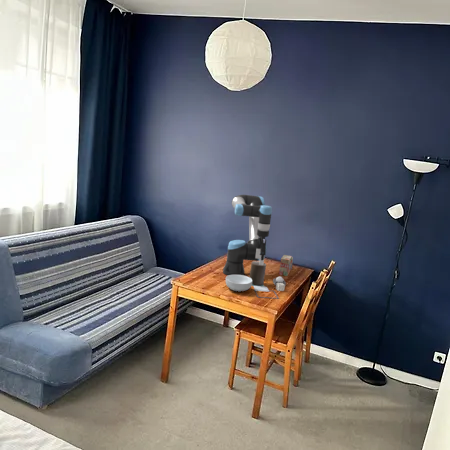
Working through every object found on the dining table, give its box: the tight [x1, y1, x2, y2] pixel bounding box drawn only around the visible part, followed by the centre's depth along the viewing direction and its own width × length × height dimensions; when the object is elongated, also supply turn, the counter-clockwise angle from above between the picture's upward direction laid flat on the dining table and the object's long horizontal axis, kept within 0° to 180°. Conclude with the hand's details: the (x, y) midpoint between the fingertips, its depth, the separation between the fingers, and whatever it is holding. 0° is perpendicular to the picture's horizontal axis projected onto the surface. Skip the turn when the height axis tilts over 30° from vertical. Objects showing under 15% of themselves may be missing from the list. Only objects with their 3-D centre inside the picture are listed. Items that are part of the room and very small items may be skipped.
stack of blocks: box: [278, 254, 294, 277], centre depth 307 cm, size 21×6×12 cm, turn 162°
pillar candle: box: [249, 261, 267, 286], centre depth 272 cm, size 10×10×15 cm
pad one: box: [252, 285, 270, 293], centre depth 264 cm, size 9×8×1 cm
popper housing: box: [272, 278, 287, 287], centre depth 278 cm, size 7×7×2 cm
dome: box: [275, 275, 285, 282], centre depth 277 cm, size 5×5×5 cm
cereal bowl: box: [225, 274, 253, 293], centre depth 258 cm, size 17×17×7 cm
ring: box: [253, 288, 280, 300], centre depth 256 cm, size 13×13×1 cm
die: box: [275, 283, 286, 292], centre depth 266 cm, size 4×4×4 cm
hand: (259, 261), depth 270 cm, fingers open, 13 cm apart
